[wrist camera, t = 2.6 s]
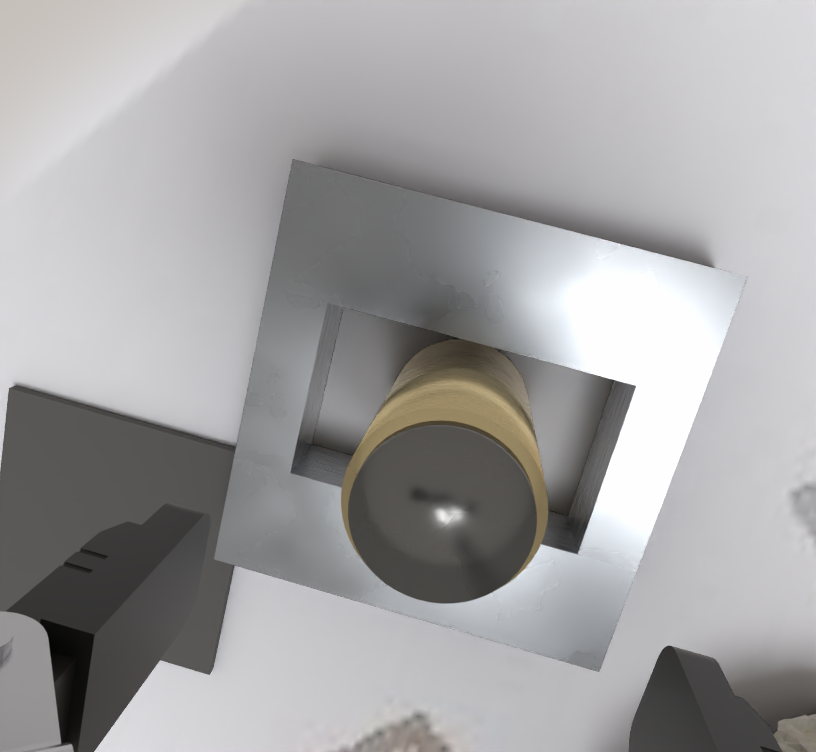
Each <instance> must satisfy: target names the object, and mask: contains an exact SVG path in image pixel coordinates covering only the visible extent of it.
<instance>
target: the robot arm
mask: <svg viewBox="0 0 816 752" xmlns="http://www.w3.org/2000/svg"><path fill="white" fill-rule="evenodd" d="M209 530H210V515H209V514H208V513H205V512H201V511H198V510H194V509H190V508H187V507H183V506H180V505H176V504H173V503H165V504H164V505H163V506H162V507H161V508H160V509H159V510H157V511H156V512H155V513H154V514H153V515H152V516H151V517H150V518H149V519H148V520H147V521H146V522H144V523H143V524H142V525H139V524H136V523H132V522H129V521H127V522H124V523H122V524H119V525H117V526H114V527H111V528H109V529H106V530H103V531H101V532H99V533H98V534H97V535H95V536H94V537H93V538H92V539H91V540H90V541H88V542H87V543H86V544H85V545H84V546H82V547H81V548H80V551H79V552H77V551H76V552H75V553H74V554H73V555H72V556H71V557H69V558H68V559H67V560H66V561H65V562H64V564H63V566H61V565H60V566H59V567H57V568H56V569H55V570H54V571H53V572H52V573H50V574H49V575H48V576H47V577H46V578H44V579H43V580H42V581H41V582H40V583H39V584H37V585H36V586H35V587H34V588H33V589H31V590H30V591H29V592H28V593H27V594H25V595H24V596H23V597H22V598H21V599H20V600H18V601H17V602H16V603H15V604H14V605H12V606H11V607H10V608H9V609H8V610H6V611H5V612H1V611H0V752H94V751H95V750H96V748H97V747H98V745H99V744H100V743H101V741H102V740H103V739H104V737H105V736H106V734H107V733H108V732H109V730H110V729H111V727H112V726H113V725H114V723H115V722H116V720H117V719H118V718H119V716H120V715H121V714H122V712H123V711H124V709H125V708H126V707H127V705H128V704H129V702H130V701H131V700H132V698H133V697H134V695H135V694H136V693H137V691H138V690H139V688H140V687H141V686H142V684H143V683H144V682H145V680H146V679H147V677H148V676H149V675H150V673H151V672H152V670H153V669H154V668H155V666H156V665H157V663H158V662H159V661H160V659H161V658H162V657H163V655H164V654H165V652H166V651H167V650H168V648H169V647H170V645H171V644H172V643H173V641H174V640H175V638H176V637H177V636H178V634H179V633H180V632H181V630H182V629H183V627H184V625H185V624H186V622H187V620H188V618H189V616H190V614H191V611H192V609H193V606H194V603H195V600H196V597H197V593H198V588H199V583H200V577H201V572H202V567H203V561H204V556H205V551H206V545H207V540H208V535H209ZM629 752H783V751H782V750H781V748H780V746H779V744H778V742H777V740H776V739H775V737H774V735H773V733H772V731H771V729H770V727H769V726H768V724H767V723H766V722H765V721H764V720H763V719H762V718H761V717H760V716H759V715H758V714H757V713H756V712H755V711H754V710H753V708H752V707H751V706H750V705H749V704H748V703H747V702H746V701H745V700H744V699H743V698H740V697H736V696H735V695H734V694H733V692H732V690H731V688H730V686H729V684H728V682H727V680H726V678H725V676H724V674H723V672H722V670H721V668H720V666H719V664H718V662H717V661H716V660H715V659H714V658H711V657H708V656H704V655H701V654H697V653H694V652H690V651H687V650H683V649H680V648H676V647H672V646H667V647H665V648H664V649H663V650H662V652H661V653H660V655H659V657H658V659H657V662H656V664H655V667H654V669H653V672H652V674H651V677H650V679H649V682H648V684H647V687H646V689H645V692H644V694H643V697H642V699H641V702H640V704H639V707H638V709H637V712H636V714H635V716H634V719H633V722H632V726H631V731H630V739H629Z"/></svg>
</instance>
